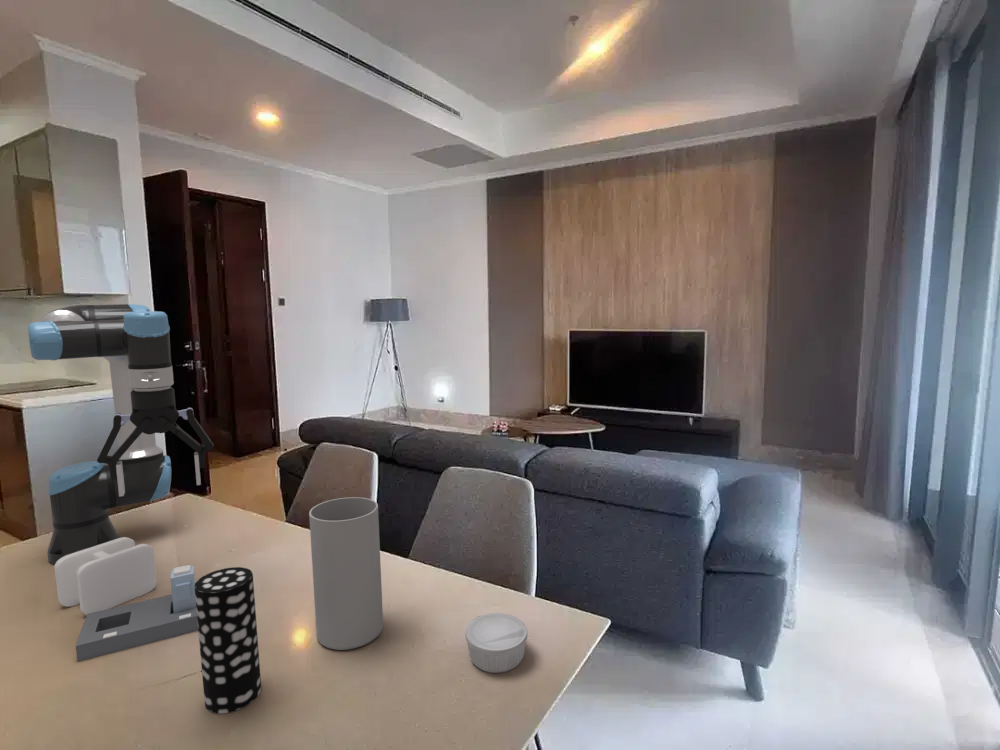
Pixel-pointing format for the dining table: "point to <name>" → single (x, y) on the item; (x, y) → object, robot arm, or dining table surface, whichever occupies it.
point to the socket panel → (132, 627)
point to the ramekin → (496, 642)
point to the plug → (183, 588)
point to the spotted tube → (228, 639)
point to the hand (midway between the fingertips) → (161, 488)
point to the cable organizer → (105, 575)
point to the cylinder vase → (346, 572)
